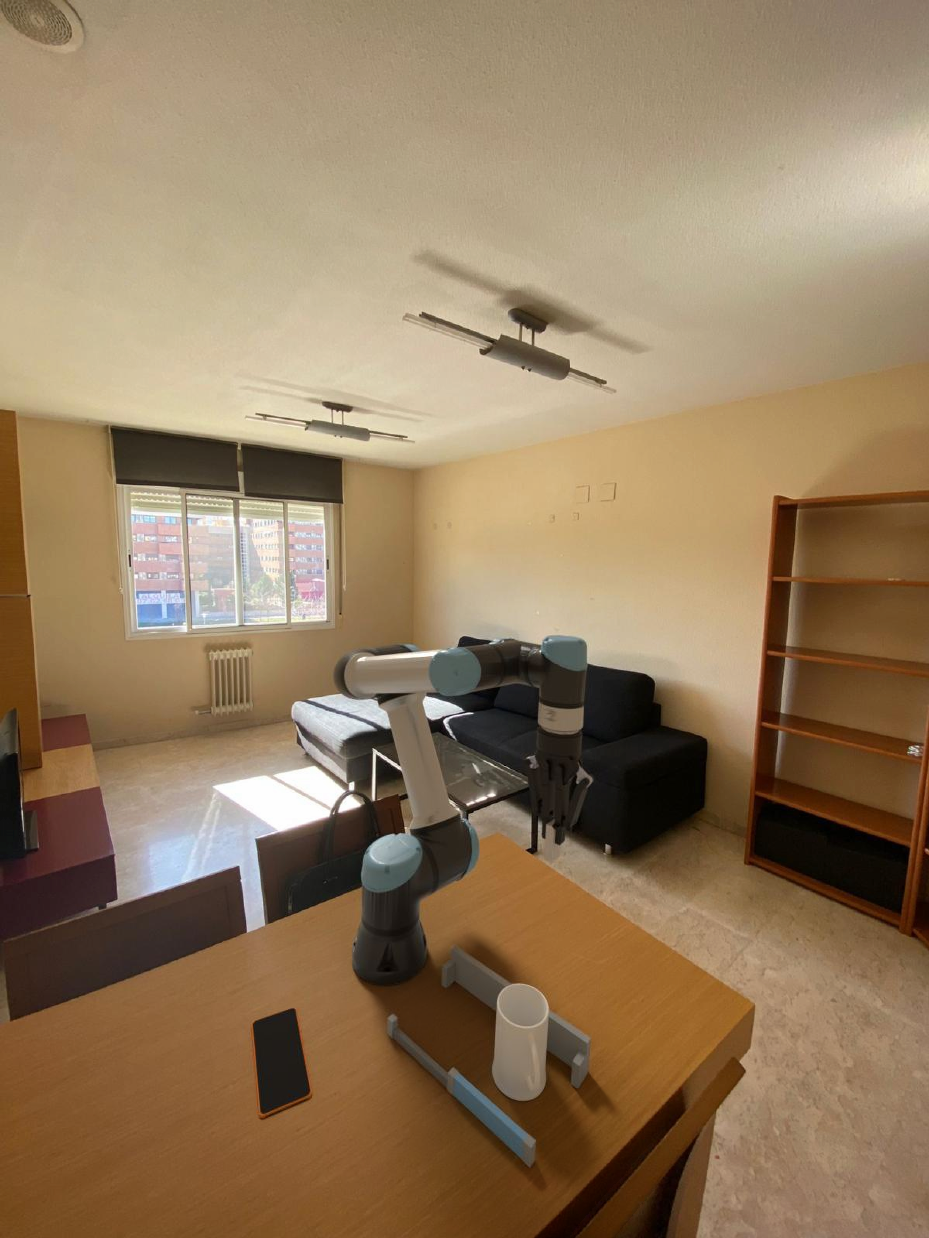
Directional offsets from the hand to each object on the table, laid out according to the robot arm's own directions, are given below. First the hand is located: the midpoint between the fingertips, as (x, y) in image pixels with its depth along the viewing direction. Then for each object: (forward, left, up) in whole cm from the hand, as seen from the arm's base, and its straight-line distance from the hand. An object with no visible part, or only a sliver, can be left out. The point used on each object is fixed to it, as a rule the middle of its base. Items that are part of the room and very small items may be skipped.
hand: (551, 858), depth 88 cm
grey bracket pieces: (-3, -13, -29) cm, 32 cm away
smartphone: (-27, -36, -30) cm, 54 cm away
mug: (+4, -13, -30) cm, 33 cm away
